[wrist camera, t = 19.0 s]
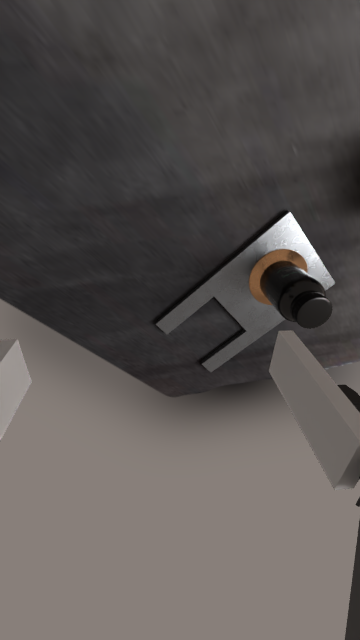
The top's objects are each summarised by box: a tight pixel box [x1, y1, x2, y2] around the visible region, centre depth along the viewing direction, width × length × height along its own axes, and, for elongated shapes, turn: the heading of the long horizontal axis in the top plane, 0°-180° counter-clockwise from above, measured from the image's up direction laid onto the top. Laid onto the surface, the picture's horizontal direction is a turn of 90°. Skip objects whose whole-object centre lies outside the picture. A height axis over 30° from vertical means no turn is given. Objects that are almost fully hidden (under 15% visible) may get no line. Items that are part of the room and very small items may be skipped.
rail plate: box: [156, 211, 335, 372], centre depth 49 cm, size 28×16×1 cm, turn 132°
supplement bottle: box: [260, 261, 332, 329], centre depth 42 cm, size 7×7×12 cm
